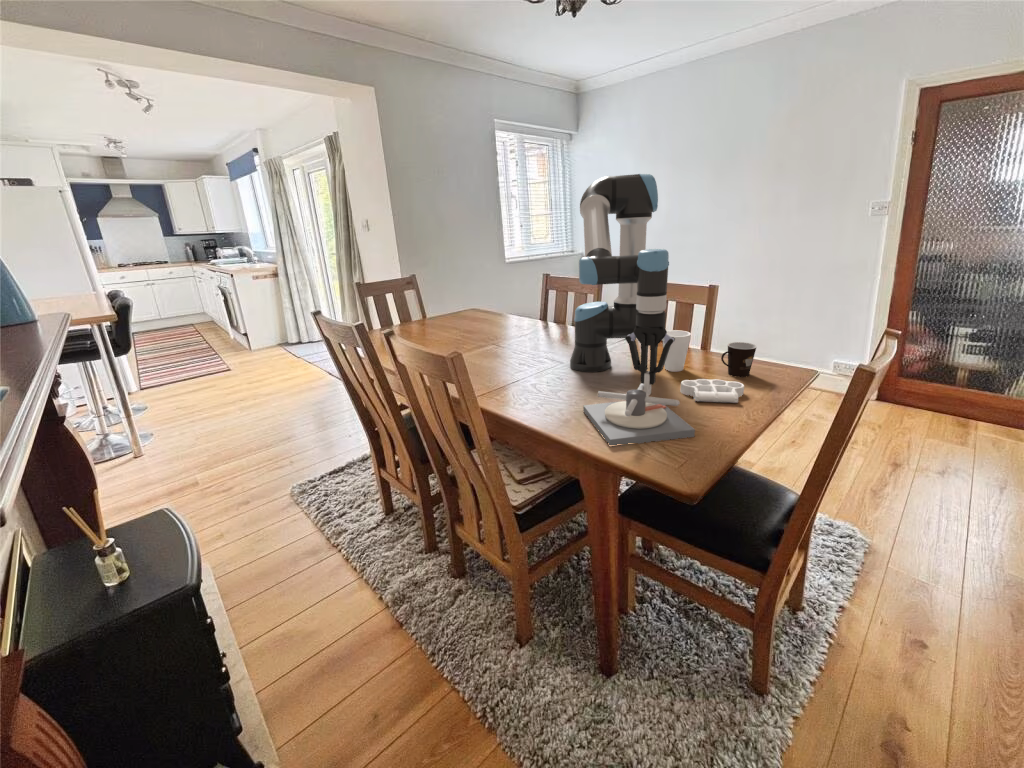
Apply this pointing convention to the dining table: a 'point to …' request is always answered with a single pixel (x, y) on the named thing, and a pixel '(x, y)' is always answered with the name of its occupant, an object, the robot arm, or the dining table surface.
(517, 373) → the dining table surface
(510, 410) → the dining table surface
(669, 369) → the foam cup
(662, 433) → the dial board
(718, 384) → the white brass knuckles
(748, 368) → the coffee mug
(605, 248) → the robot arm
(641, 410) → the capstan
